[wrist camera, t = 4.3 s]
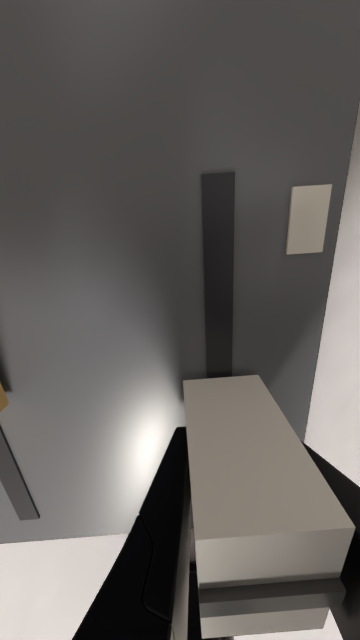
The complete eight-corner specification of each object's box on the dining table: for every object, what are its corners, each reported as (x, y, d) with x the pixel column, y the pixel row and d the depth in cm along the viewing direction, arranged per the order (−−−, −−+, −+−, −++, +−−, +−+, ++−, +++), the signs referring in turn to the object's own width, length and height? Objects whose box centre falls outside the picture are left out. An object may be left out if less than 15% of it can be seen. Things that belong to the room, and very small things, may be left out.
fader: (253, 449, 10) (328, 642, 5) (188, 454, 10) (202, 652, 5) (258, 374, 9) (364, 541, 4) (182, 380, 9) (195, 554, 4)
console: (272, 476, 15) (292, 522, 12) (1, 497, 15) (-33, 548, 12) (317, 52, 8) (384, -34, 5) (-207, 85, 8) (-386, 12, 5)
